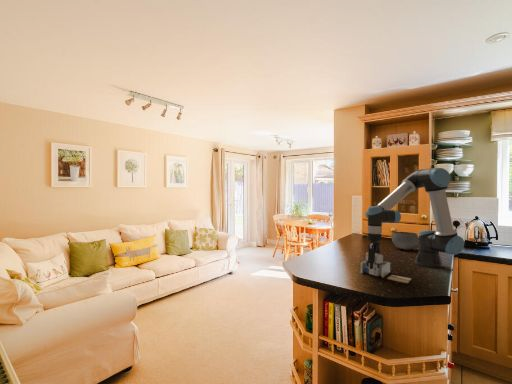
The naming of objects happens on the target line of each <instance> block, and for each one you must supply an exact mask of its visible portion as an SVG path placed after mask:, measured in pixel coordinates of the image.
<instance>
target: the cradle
mask: <svg viewBox="0 0 512 384" xmlns="http://www.w3.org/2000/svg"><path fill="white" fill-rule="evenodd" d="M365 267H366V259H365V260H364V261H361V262H360V274H364V273H366V272H365ZM390 273H391V261H385V260H383V266H382V270H381V276H380V277H381V278H382V279H383V278H385V277H386V276H387V275H389V274H390Z"/></svg>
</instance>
